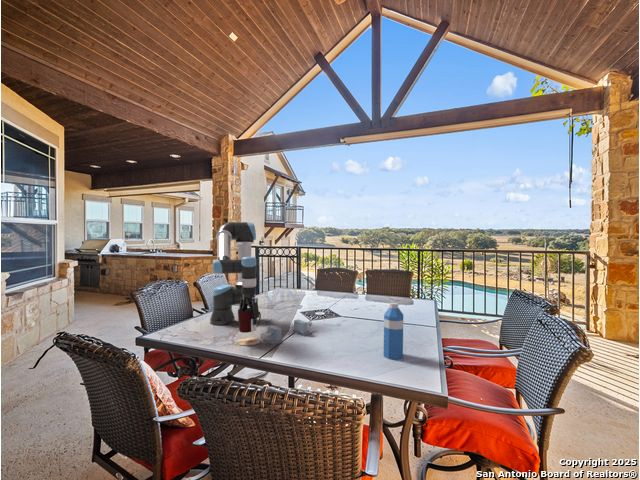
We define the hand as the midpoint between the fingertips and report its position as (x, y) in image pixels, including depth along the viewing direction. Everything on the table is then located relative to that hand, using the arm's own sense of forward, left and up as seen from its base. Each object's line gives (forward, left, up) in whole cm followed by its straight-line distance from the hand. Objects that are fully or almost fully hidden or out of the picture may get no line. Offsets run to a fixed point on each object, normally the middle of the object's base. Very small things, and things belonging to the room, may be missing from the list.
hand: (248, 328), depth 158 cm
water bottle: (+62, +41, -7) cm, 75 cm away
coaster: (0, 0, -7) cm, 7 cm away
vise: (+8, +20, -7) cm, 23 cm away
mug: (+1, 0, -1) cm, 1 cm away
